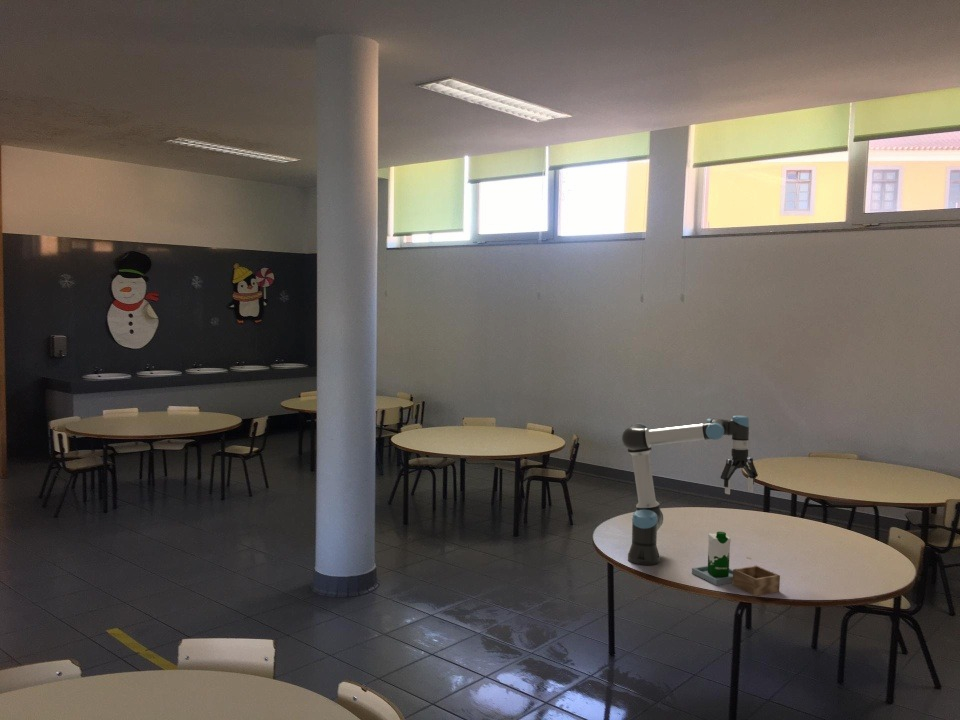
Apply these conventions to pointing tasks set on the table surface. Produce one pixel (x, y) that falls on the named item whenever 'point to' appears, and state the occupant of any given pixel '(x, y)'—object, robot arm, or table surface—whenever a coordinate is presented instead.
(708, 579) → the tray
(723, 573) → the soya milk
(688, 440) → the robot arm
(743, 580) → the holder
